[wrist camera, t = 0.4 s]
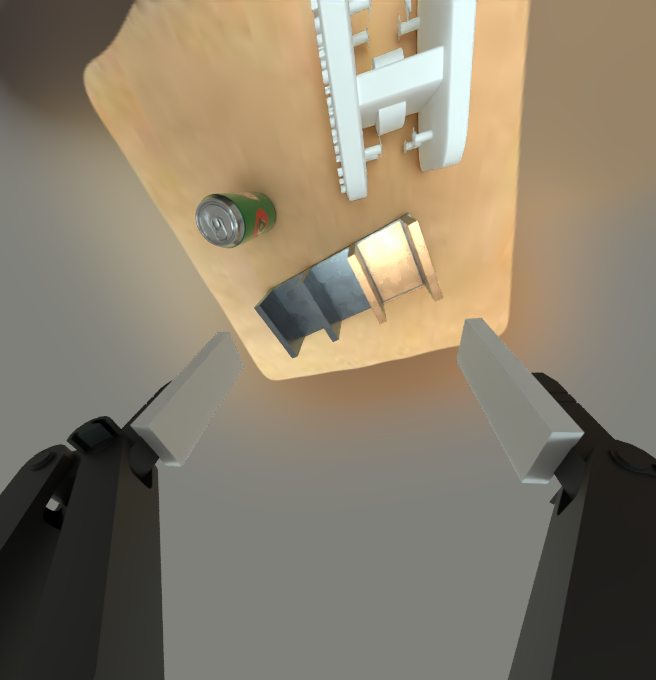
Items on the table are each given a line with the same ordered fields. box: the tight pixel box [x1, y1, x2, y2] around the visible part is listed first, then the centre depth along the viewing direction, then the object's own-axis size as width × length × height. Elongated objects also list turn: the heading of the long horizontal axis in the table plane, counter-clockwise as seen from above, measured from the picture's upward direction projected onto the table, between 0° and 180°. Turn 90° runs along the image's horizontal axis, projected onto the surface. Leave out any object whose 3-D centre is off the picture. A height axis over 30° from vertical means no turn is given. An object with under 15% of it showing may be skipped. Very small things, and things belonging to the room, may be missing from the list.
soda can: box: [196, 192, 276, 248], centre depth 29 cm, size 5×5×12 cm
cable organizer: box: [311, 0, 477, 201], centre depth 22 cm, size 15×11×12 cm
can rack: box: [254, 213, 443, 358], centre depth 35 cm, size 10×24×7 cm, turn 120°
